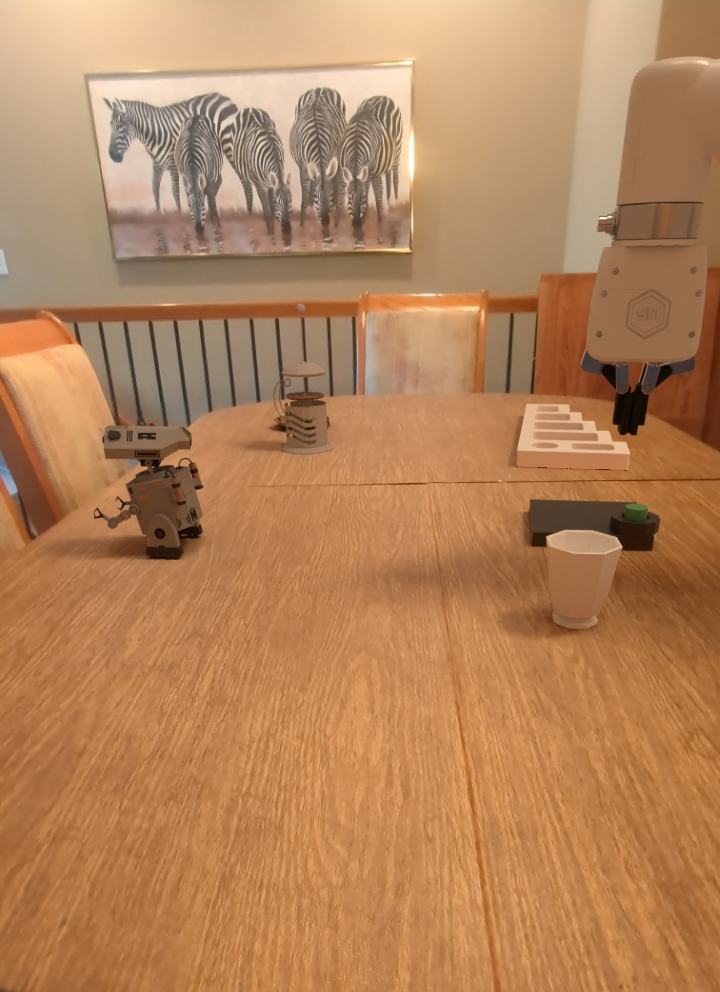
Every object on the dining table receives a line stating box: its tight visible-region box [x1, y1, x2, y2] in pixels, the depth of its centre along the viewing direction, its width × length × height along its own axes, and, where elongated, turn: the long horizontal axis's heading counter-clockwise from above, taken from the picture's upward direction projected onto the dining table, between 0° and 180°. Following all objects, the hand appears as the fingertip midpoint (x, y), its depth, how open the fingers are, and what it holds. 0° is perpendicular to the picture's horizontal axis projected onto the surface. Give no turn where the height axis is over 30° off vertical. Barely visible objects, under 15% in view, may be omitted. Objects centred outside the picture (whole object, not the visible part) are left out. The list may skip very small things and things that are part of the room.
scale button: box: [624, 503, 649, 521], centre depth 90 cm, size 3×3×2 cm
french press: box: [272, 303, 334, 455], centre depth 138 cm, size 10×12×25 cm
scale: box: [528, 498, 661, 552], centre depth 96 cm, size 15×14×4 cm
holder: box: [515, 403, 631, 471], centre depth 144 cm, size 45×18×3 cm, turn 167°
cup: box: [546, 530, 623, 630], centre depth 73 cm, size 7×10×8 cm
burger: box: [273, 390, 331, 430], centre depth 159 cm, size 12×12×8 cm
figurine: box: [93, 422, 204, 560], centre depth 92 cm, size 9×12×15 cm
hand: (626, 432), depth 77 cm, fingers closed
